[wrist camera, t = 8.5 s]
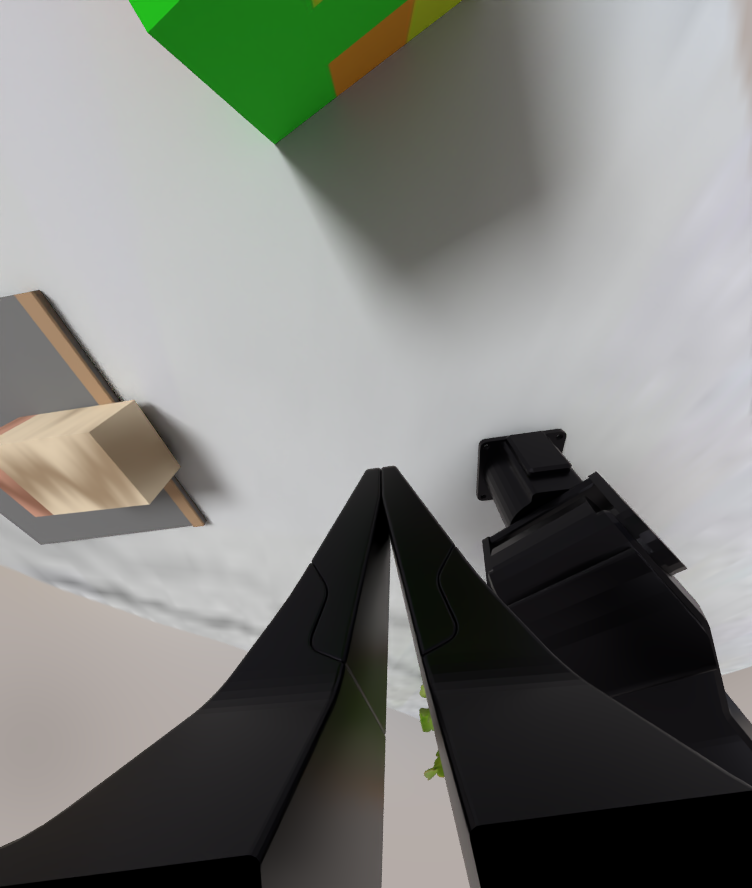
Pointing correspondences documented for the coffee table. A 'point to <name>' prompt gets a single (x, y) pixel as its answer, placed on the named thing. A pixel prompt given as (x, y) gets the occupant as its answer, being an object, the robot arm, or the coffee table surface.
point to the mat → (57, 389)
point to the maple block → (84, 460)
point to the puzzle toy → (284, 48)
